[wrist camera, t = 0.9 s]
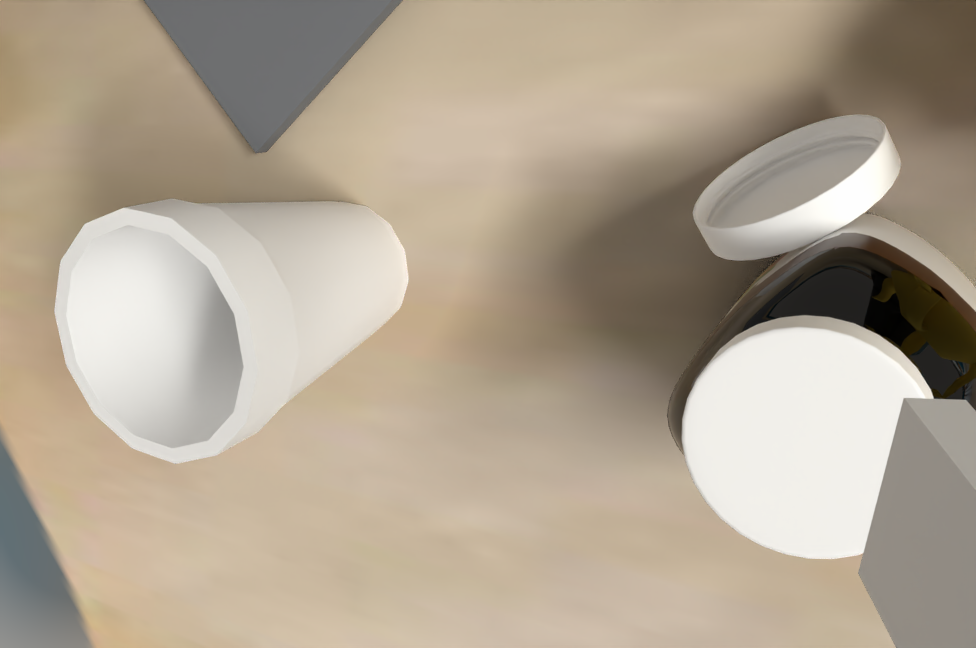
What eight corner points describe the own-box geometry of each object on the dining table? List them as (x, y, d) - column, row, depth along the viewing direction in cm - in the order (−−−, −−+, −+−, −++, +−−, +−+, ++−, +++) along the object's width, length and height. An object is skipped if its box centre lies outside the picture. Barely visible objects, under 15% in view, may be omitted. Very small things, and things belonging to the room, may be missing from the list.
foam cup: (241, 226, 46) (18, 281, 35) (370, 130, 42) (161, 157, 30) (334, 390, 46) (141, 497, 35) (472, 312, 42) (302, 407, 31)
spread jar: (824, 484, 37) (782, 645, 27) (616, 296, 39) (504, 381, 29) (1077, 271, 32) (1145, 373, 21) (821, 62, 33) (771, 65, 23)
